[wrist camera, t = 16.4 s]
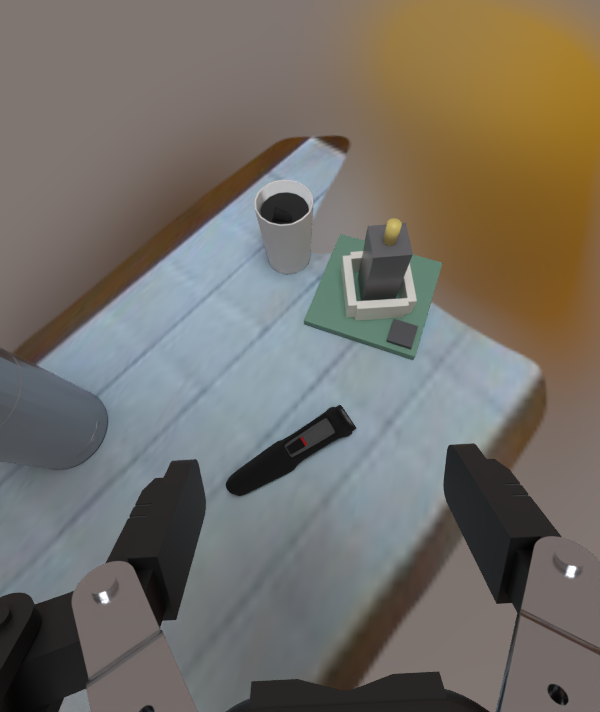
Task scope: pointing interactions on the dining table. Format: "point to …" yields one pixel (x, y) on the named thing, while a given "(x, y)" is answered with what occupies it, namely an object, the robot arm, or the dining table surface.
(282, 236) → the grey cup
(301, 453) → the electric trimmer
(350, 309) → the socket
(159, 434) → the dining table surface
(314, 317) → the circuit board
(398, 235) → the plug
